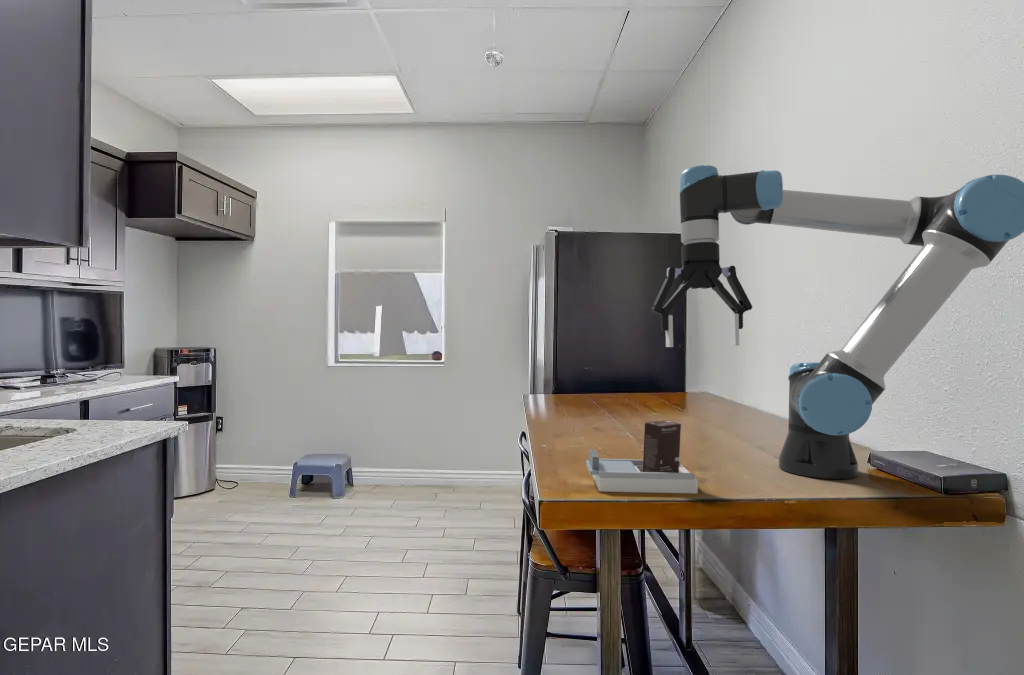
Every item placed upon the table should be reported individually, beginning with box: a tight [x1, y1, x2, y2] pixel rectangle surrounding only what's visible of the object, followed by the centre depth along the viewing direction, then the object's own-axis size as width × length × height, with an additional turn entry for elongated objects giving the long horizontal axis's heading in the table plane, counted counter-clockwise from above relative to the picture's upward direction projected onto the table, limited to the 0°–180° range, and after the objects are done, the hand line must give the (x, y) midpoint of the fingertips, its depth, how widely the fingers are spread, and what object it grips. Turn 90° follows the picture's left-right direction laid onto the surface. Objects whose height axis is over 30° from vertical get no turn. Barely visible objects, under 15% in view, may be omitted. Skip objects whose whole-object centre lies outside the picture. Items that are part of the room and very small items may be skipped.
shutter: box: [585, 448, 638, 476], centre depth 115 cm, size 9×9×3 cm
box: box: [642, 420, 682, 473], centre depth 114 cm, size 6×4×12 cm
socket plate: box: [592, 458, 699, 494], centre depth 114 cm, size 18×12×4 cm, turn 88°
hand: (702, 346), depth 122 cm, fingers open, 13 cm apart
